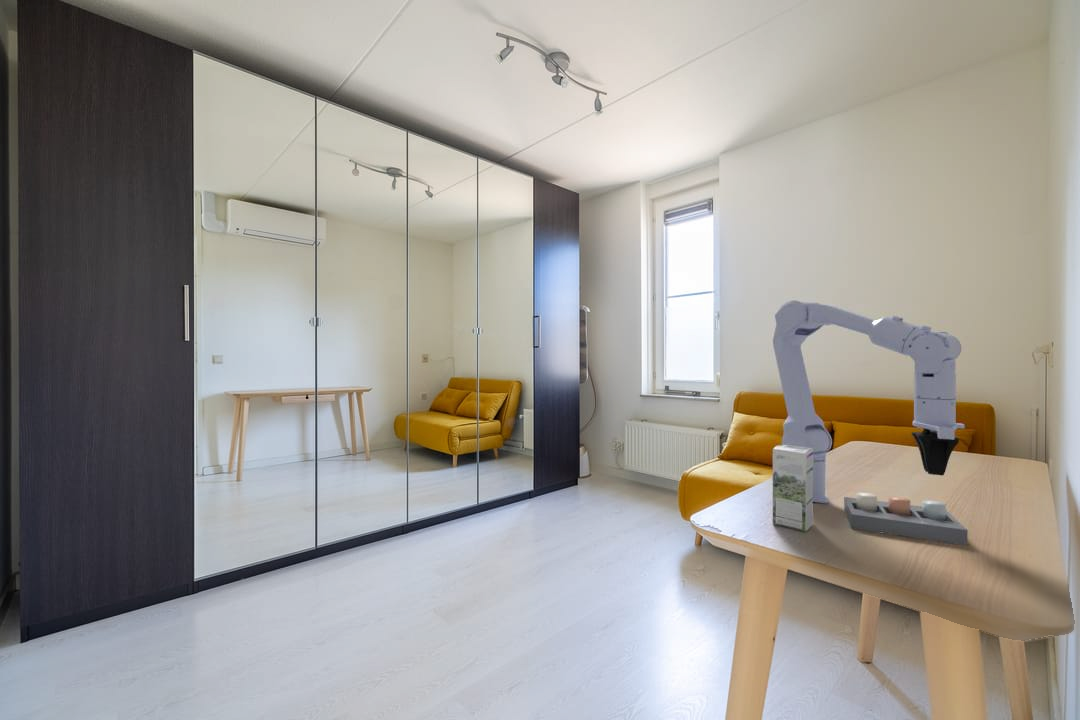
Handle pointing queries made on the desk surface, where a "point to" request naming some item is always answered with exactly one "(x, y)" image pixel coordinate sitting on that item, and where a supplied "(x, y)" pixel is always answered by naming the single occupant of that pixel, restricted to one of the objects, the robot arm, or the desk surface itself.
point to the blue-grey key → (933, 510)
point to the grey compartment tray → (905, 523)
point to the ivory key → (866, 502)
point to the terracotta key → (899, 506)
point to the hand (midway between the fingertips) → (934, 473)
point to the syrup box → (793, 487)
